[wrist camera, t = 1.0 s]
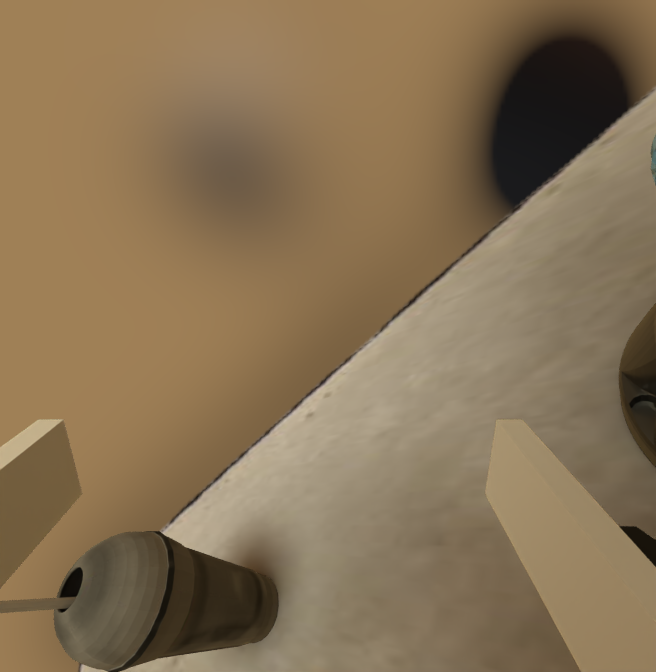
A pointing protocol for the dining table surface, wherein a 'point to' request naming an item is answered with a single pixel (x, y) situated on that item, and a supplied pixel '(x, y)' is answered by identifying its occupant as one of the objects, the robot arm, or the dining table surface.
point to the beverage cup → (154, 603)
